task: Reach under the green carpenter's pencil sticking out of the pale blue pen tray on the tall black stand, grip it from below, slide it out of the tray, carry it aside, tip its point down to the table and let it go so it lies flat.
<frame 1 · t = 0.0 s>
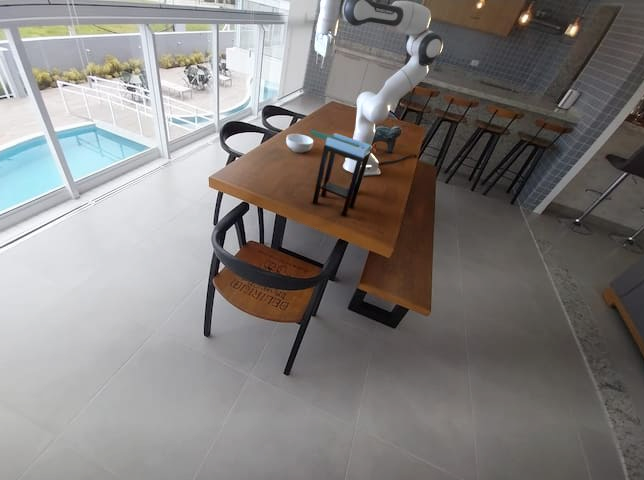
hand: (320, 66, 140), 48 cm above the table, tool pointing down, fingers open, 8 cm apart
cereal bowl: (298, 150, 188), on the table
pencil: (336, 142, 127), point 28 cm above the table, touching pen tray
pen tray: (347, 148, 126), resting on stool
stool: (333, 205, 144), on the table
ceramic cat: (379, 151, 208), on the table
energy drink: (353, 192, 158), on the table
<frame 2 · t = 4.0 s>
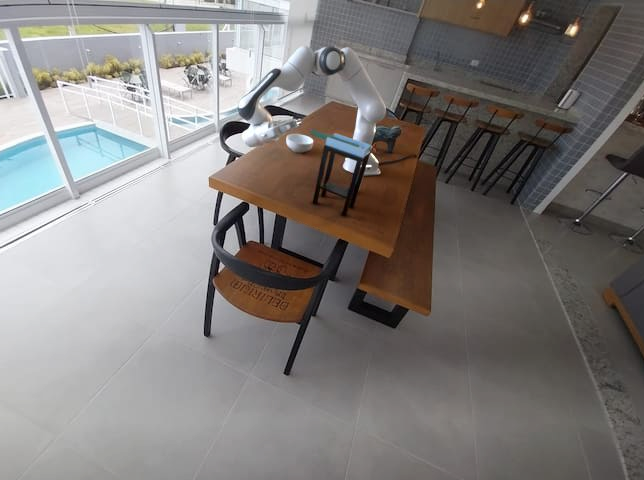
hand: (295, 123, 132), 30 cm above the table, tool pointing upward, fingers open, 8 cm apart
nothing on the table moved.
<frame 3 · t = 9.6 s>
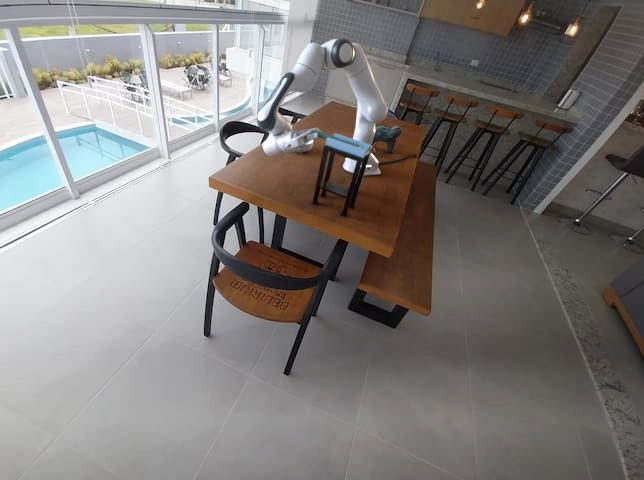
hand: (319, 133, 129), 29 cm above the table, tool pointing upward, fingers closed on pencil, 2 cm apart
pencil: (336, 142, 127), point 28 cm above the table, touching gripper, pen tray
everything else where it was.
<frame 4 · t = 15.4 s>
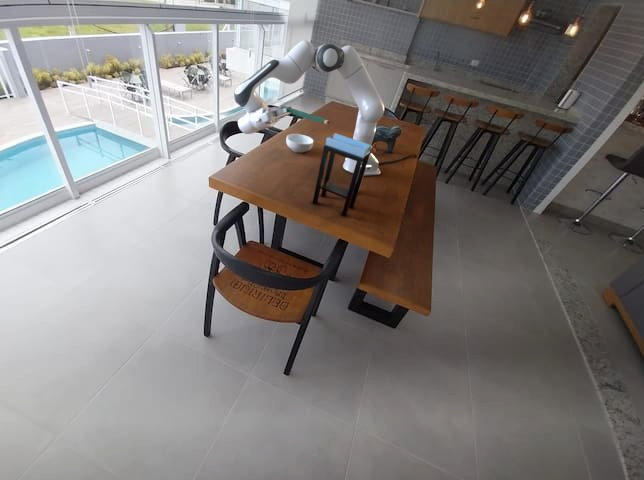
hand: (289, 108, 136), 33 cm above the table, tool pointing upward, fingers closed on pencil, 2 cm apart
pencil: (304, 116, 134), point 32 cm above the table, touching gripper
everything else where it was.
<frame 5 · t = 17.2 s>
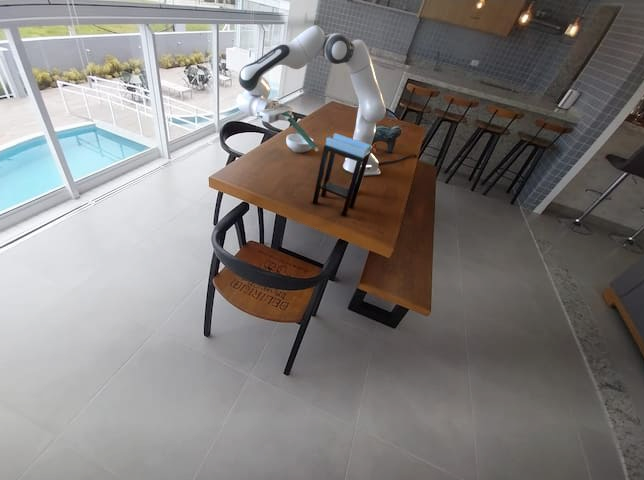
hand: (290, 118, 142), 28 cm above the table, tool horizontal, fingers closed on pencil, 2 cm apart
pencil: (301, 133, 144), point 23 cm above the table, tilted 29°, touching gripper
everything else where it was.
when the fingers open (11 cm above the table, at t = 21.6 s): pencil drops 6 cm, on the table.
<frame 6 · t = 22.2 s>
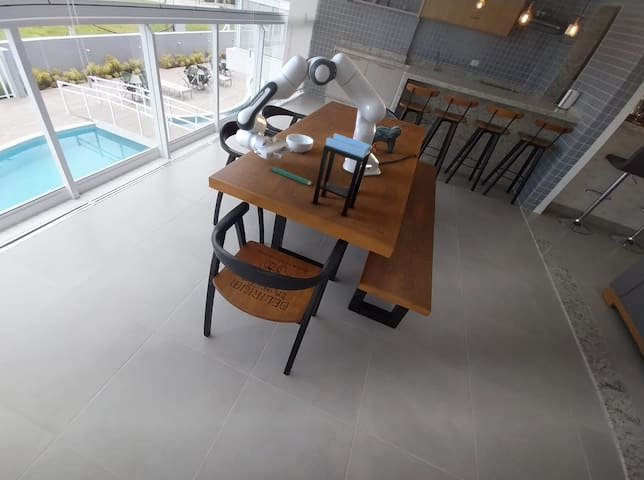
hand: (286, 154, 154), 11 cm above the table, tool horizontal, fingers open, 8 cm apart
pencil: (292, 177, 160), on the table
everything else where it was.
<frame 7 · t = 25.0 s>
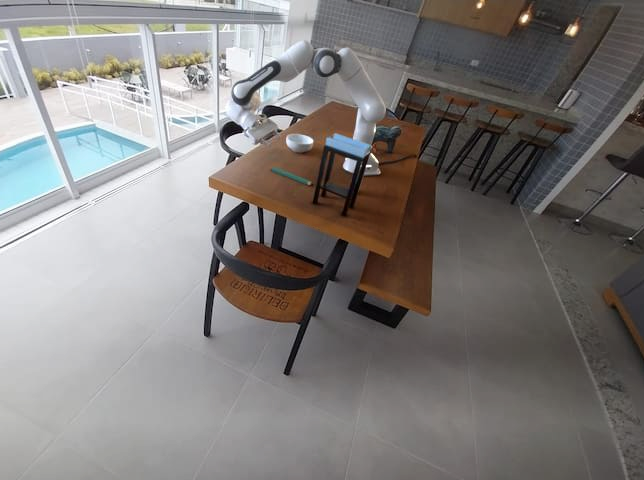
hand: (274, 141, 153), 15 cm above the table, tool tilted 70°, fingers open, 8 cm apart
nothing on the table moved.
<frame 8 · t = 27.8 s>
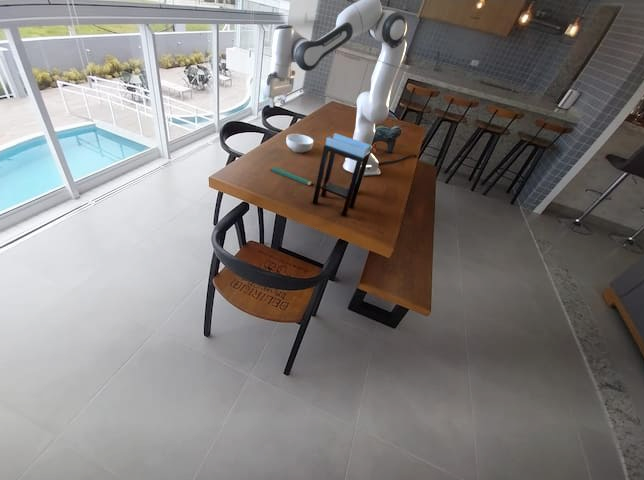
hand: (277, 105, 144), 31 cm above the table, tool pointing down, fingers open, 8 cm apart
nothing on the table moved.
at the end: pencil inside the target area (2.3 cm from its centre), on the table; pencil touching table; the gripper is holding nothing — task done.
